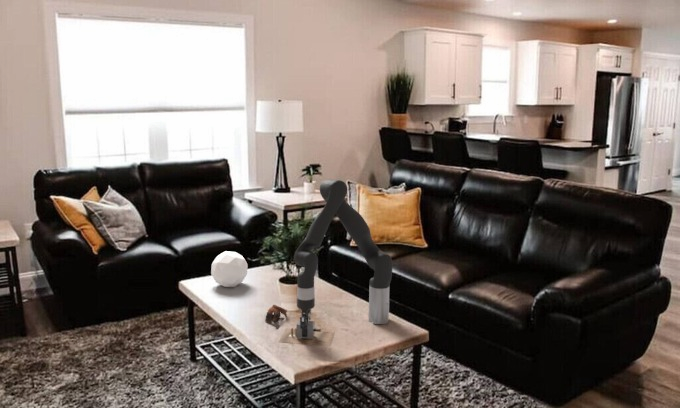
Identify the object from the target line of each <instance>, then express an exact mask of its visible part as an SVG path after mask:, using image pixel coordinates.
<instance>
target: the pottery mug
mask: <svg viewBox="0 0 680 408" xmlns="http://www.w3.org/2000/svg"><path fill="white" fill-rule="evenodd" d="M287 312H288V310H287V309H285V308H284V307H283V308H282V307H280V306H279V305H276V304H273V305H272V306H271V307H270V308H268V309H267V312H266V315H265V319H264V321H265V322H266V323H268V324H270V325H272V324H273V323H275V324H276V323H279V319H280V318H281V314H282V315H284V318H287V317H288V314H287ZM272 322H273V323H272Z"/></svg>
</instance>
